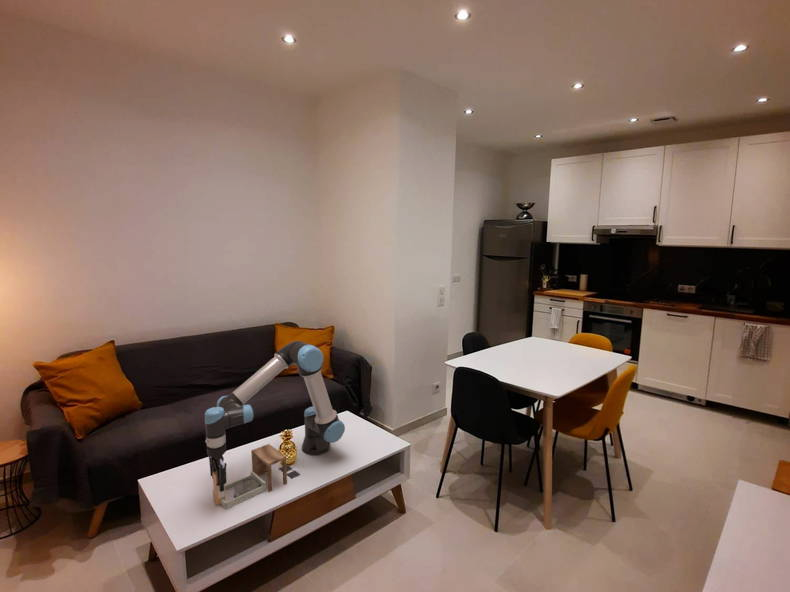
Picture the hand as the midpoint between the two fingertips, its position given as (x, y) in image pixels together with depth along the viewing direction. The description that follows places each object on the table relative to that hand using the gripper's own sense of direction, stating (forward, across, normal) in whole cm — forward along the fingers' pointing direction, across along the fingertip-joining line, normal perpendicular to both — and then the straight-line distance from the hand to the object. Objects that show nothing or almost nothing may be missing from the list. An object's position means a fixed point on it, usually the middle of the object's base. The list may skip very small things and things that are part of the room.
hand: (219, 495), depth 179 cm
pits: (+4, 0, +34) cm, 34 cm away
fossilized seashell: (+4, +1, +12) cm, 12 cm away
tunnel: (+4, 0, +23) cm, 24 cm away
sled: (+3, 0, +8) cm, 9 cm away
